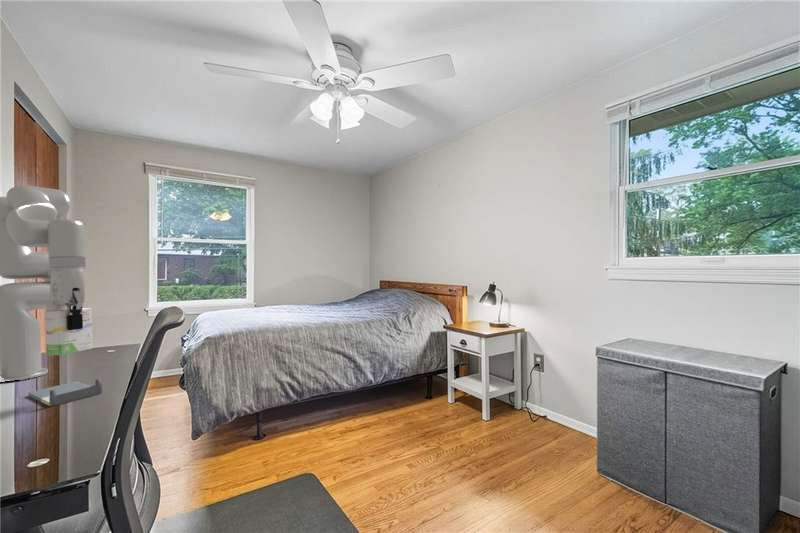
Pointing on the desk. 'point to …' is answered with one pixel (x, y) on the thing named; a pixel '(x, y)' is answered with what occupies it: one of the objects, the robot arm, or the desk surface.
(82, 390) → the tray
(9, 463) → the desk surface
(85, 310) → the ink box
